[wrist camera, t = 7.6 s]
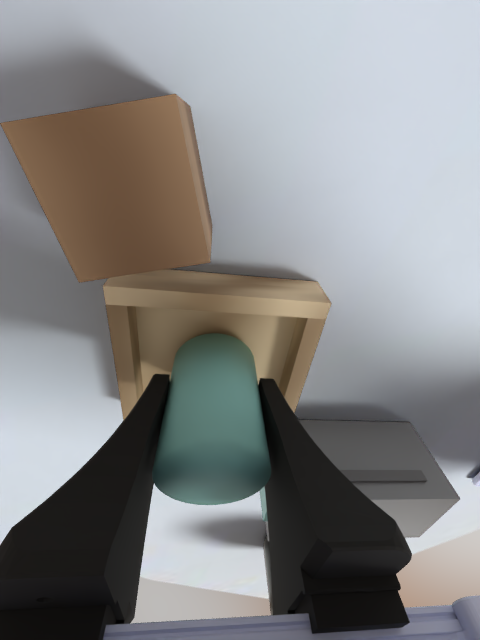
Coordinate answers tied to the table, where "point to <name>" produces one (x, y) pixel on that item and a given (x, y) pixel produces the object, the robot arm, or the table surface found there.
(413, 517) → the gray block
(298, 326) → the birch tray
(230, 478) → the teal peg
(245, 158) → the table surface
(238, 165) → the table surface
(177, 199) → the walnut block
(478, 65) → the table surface
